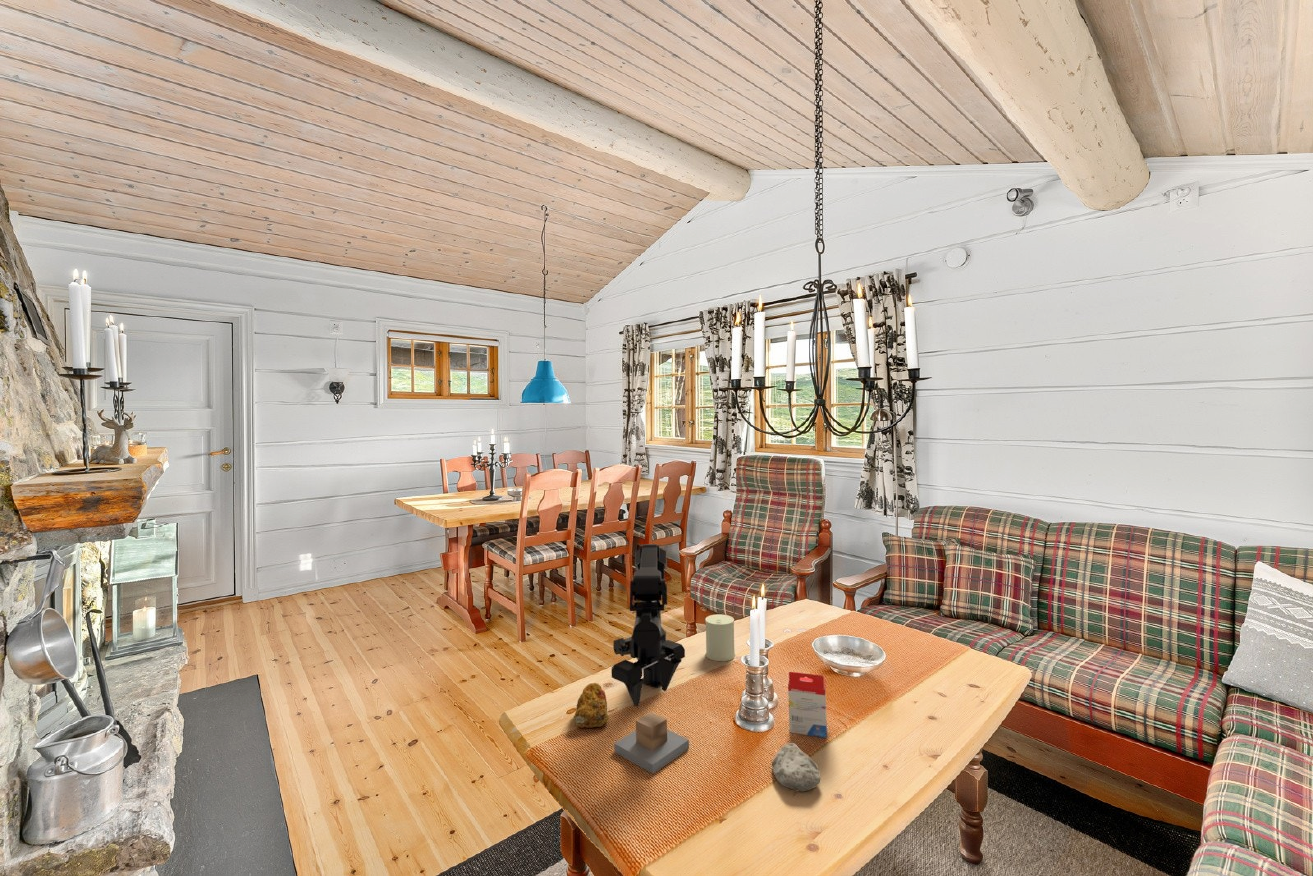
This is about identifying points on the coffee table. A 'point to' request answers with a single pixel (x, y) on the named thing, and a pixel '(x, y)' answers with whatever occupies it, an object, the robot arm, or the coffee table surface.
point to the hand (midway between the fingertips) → (650, 698)
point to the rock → (591, 707)
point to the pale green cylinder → (720, 637)
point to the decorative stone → (795, 768)
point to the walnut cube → (651, 730)
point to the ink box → (807, 704)
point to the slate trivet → (648, 757)
